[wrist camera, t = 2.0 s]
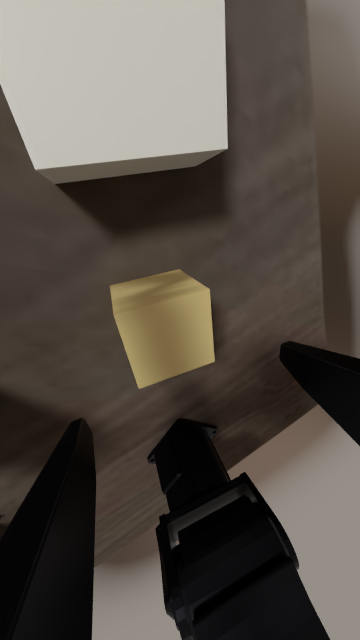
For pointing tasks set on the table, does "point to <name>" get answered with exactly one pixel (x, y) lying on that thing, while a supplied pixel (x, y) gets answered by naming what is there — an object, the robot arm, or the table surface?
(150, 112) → the ivory block
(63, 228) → the table surface
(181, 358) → the mustard cube
